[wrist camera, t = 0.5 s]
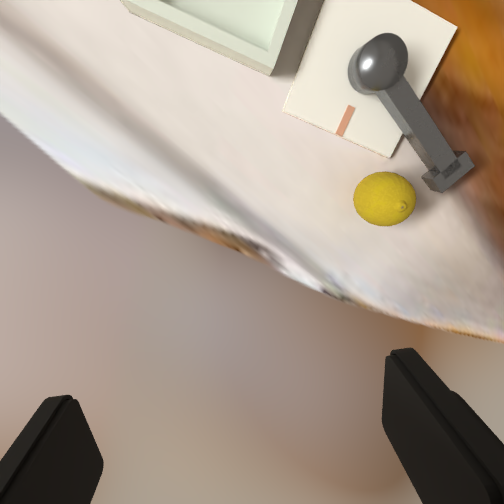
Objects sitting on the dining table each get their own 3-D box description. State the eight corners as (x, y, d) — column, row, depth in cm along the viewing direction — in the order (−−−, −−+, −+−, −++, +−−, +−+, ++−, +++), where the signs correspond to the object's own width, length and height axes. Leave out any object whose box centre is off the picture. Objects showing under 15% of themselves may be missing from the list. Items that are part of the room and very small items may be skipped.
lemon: (358, 160, 34) (394, 167, 26) (398, 179, 35) (444, 191, 27) (335, 204, 35) (362, 222, 28) (373, 222, 36) (410, 244, 29)
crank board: (337, -35, 27) (340, -40, 26) (451, 29, 30) (458, 26, 29) (281, 111, 31) (283, 110, 30) (386, 157, 34) (390, 158, 33)
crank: (338, 68, 29) (350, 60, 26) (374, 31, 28) (390, 19, 25) (426, 190, 34) (443, 195, 31) (459, 162, 33) (480, 164, 30)
